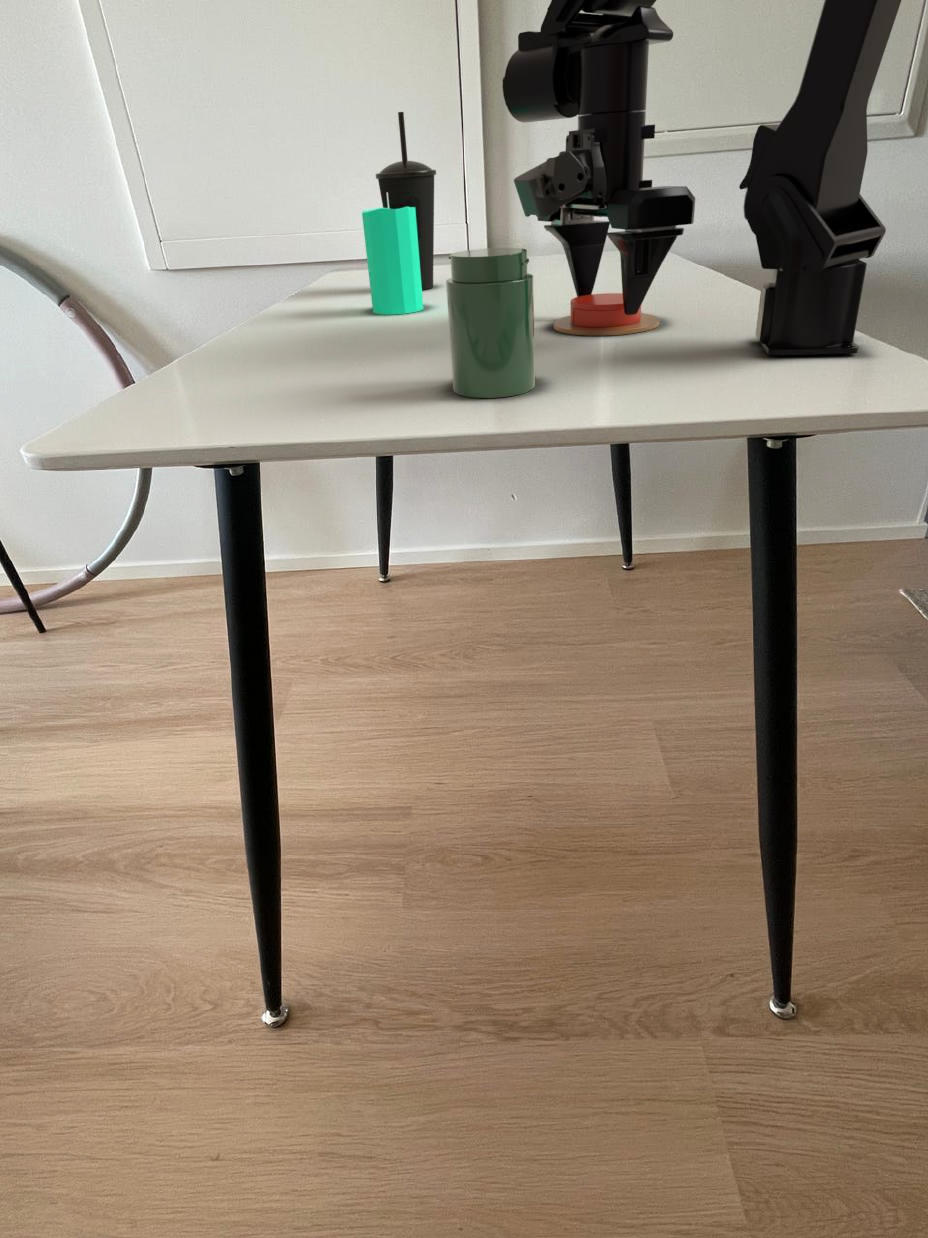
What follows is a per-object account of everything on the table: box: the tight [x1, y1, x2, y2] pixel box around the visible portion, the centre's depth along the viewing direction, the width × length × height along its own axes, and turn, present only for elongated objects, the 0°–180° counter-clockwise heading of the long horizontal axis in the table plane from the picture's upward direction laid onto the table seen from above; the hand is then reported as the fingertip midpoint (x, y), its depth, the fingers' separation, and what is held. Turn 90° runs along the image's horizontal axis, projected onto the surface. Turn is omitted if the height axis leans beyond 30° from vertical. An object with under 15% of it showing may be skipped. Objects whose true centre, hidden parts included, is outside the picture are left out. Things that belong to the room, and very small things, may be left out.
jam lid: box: [569, 292, 642, 328], centre depth 76 cm, size 7×7×2 cm
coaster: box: [553, 312, 660, 337], centre depth 76 cm, size 10×10×1 cm
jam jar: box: [445, 247, 536, 399], centre depth 56 cm, size 6×6×9 cm
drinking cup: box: [375, 111, 437, 291], centre depth 101 cm, size 8×8×20 cm
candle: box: [361, 192, 424, 316], centre depth 89 cm, size 6×6×12 cm
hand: (606, 307), depth 76 cm, fingers open, 9 cm apart
